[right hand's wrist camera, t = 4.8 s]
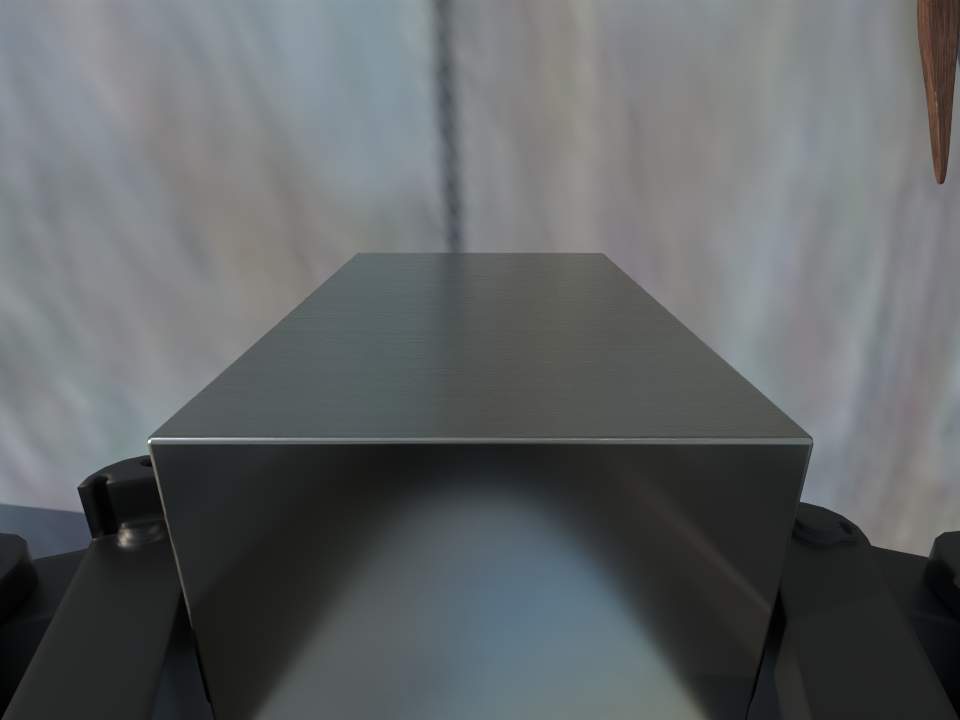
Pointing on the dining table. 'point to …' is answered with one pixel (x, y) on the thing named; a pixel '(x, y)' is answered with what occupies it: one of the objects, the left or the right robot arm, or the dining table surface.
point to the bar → (480, 502)
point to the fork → (939, 71)
